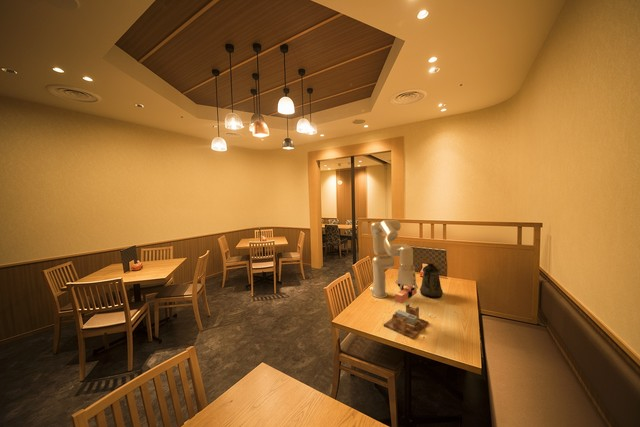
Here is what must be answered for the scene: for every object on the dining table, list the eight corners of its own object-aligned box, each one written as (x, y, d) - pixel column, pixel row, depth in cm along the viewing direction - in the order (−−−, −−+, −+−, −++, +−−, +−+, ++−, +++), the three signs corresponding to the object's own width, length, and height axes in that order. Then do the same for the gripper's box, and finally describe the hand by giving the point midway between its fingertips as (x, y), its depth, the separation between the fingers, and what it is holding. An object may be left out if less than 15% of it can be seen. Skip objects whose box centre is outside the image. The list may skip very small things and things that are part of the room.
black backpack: (440, 291, 183) (441, 262, 181) (445, 302, 165) (445, 269, 163) (419, 289, 189) (419, 260, 187) (421, 299, 170) (421, 267, 169)
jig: (383, 326, 135) (383, 312, 135) (400, 313, 150) (400, 300, 150) (412, 339, 122) (412, 323, 122) (428, 323, 137) (428, 309, 137)
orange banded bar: (395, 301, 130) (395, 293, 130) (410, 291, 143) (410, 284, 143) (401, 303, 127) (401, 295, 127) (416, 293, 141) (416, 285, 140)
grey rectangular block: (395, 320, 140) (395, 311, 139) (399, 317, 142) (399, 308, 142) (413, 328, 130) (413, 319, 130) (417, 325, 133) (417, 316, 133)
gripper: (422, 268, 131) (422, 298, 132) (396, 262, 143) (396, 290, 144) (417, 271, 125) (417, 302, 127) (390, 265, 138) (390, 294, 139)
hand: (406, 295), depth 135 cm, fingers closed on orange banded bar, 4 cm apart
